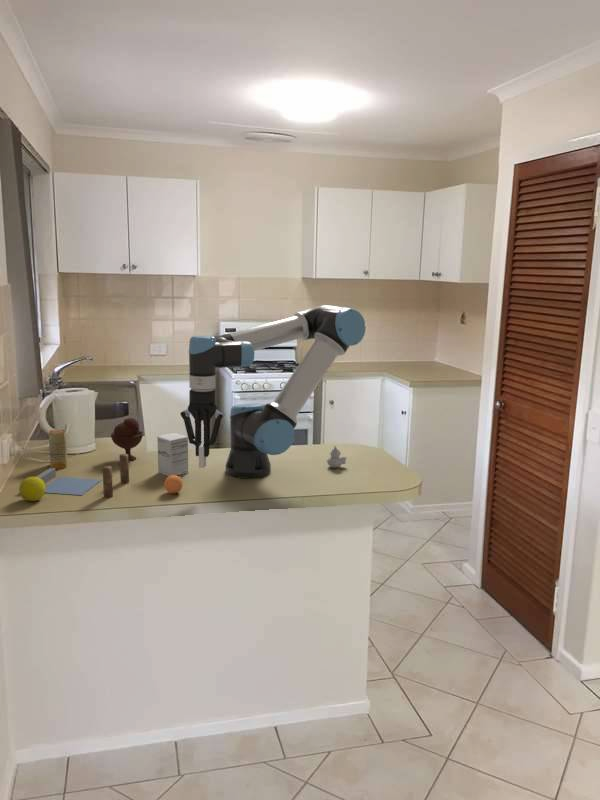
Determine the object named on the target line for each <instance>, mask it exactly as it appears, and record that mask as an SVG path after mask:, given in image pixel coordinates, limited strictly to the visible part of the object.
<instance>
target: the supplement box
mask: <svg viewBox="0 0 600 800" xmlns="http://www.w3.org/2000/svg"><path fill="white" fill-rule="evenodd" d="M156 439H157V440H156V441H157V471H158V472H157V473H158V474H162V475H165V476H167V477H169V476H171V475H176V476H177V475H179V476H182V475H181V474H183V475H185V474H184V473H186V474H189V439H188V436H186V435H182V434H179V433H176V432H171V433H166V434H163V435H158V436H157V437H156Z"/></svg>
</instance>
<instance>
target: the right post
mask: <svg viewBox="0 0 600 800" xmlns="http://www.w3.org/2000/svg"><path fill="white" fill-rule="evenodd" d="M129 466H130V465H129V462H128V454H126V453H121V454H119V475H120V484H123V485H125V484H126V483H127V484H129V483H130V472H129V471H130V467H129Z"/></svg>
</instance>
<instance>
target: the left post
mask: <svg viewBox="0 0 600 800" xmlns="http://www.w3.org/2000/svg"><path fill="white" fill-rule="evenodd" d="M112 469H113V468H112V466H111V465H105V466H102V485H103V498H104V499H110V498H112V497H113V496H114V492H113V491H114V487H113V471H112Z"/></svg>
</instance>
